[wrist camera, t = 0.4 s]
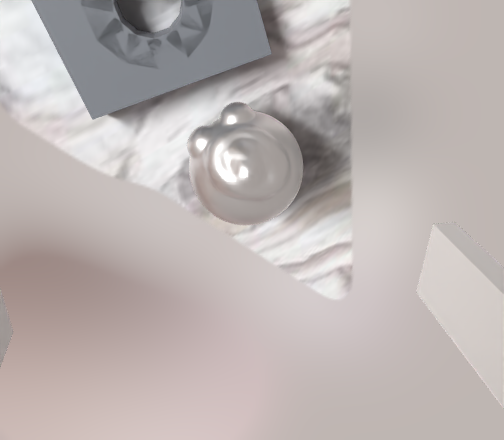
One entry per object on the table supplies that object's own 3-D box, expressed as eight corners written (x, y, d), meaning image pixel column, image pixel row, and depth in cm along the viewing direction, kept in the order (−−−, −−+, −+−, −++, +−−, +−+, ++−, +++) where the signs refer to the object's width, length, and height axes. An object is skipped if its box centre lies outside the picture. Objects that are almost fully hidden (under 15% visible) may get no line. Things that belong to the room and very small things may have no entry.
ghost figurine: (295, 92, 39) (334, 131, 31) (281, 195, 44) (311, 255, 35) (185, 85, 37) (194, 125, 29) (181, 194, 42) (188, 256, 33)
